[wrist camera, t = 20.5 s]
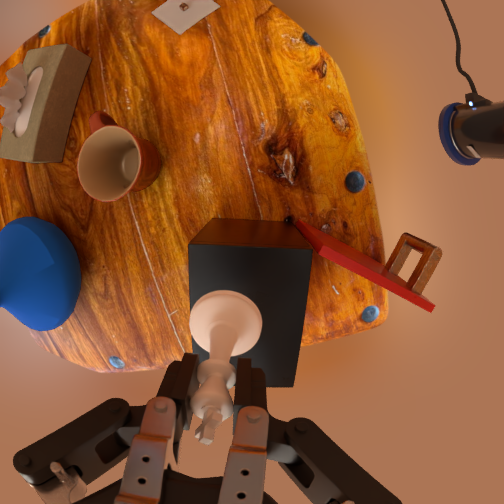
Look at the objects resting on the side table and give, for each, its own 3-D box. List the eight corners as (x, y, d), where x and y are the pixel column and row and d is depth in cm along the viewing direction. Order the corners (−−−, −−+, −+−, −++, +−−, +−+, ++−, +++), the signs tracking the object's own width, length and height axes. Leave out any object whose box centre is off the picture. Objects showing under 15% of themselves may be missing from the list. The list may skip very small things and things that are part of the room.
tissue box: (62, 164, 36) (-7, 167, 21) (26, 157, 36) (-37, 161, 21) (93, 57, 32) (37, 24, 16) (54, 59, 31) (-1, 36, 16)
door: (317, 182, 37) (353, 187, 23) (402, 233, 39) (460, 261, 25) (295, 225, 39) (318, 254, 25) (382, 271, 41) (431, 313, 27)
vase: (98, 217, 39) (14, 249, 20) (99, 319, 44) (41, 384, 25) (24, 204, 38) (-53, 225, 20) (29, 295, 43) (-32, 338, 24)
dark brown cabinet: (291, 221, 39) (313, 249, 25) (281, 323, 43) (293, 387, 29) (211, 218, 39) (188, 243, 25) (211, 320, 43) (195, 383, 29)
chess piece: (276, 313, 19) (294, 431, 9) (238, 362, 20) (229, 478, 10) (211, 275, 18) (172, 380, 8) (178, 330, 19) (132, 440, 9)
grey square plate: (179, 35, 31) (176, 29, 30) (151, 12, 30) (147, 7, 28) (220, 6, 30) (219, 0, 28) (189, -15, 28) (187, -21, 27)
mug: (178, 177, 37) (153, 178, 28) (128, 205, 38) (93, 215, 29) (147, 106, 35) (116, 88, 25) (100, 136, 36) (61, 129, 26)
